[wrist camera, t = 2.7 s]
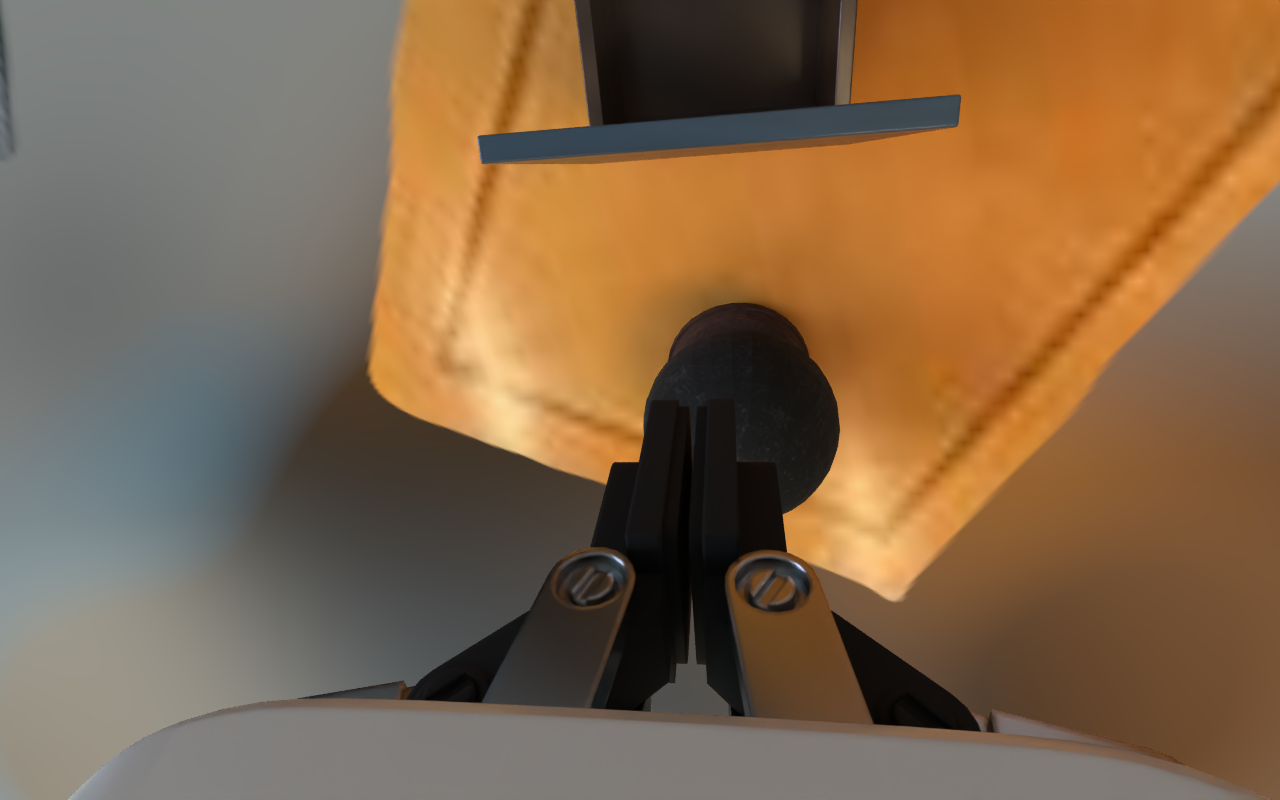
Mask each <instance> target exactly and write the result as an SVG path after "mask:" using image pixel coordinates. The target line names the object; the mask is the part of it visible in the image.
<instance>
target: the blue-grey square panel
mask: <svg viewBox="0 0 1280 800" xmlns="http://www.w3.org/2000/svg"><path fill="white" fill-rule="evenodd" d="M960 102H961V96H960V95H948V96H936V97H924V98H913V99H901V100H889V101H878V102H866V103H854V104H843V105H831V106H819V107H808V108H796V109H784V110H773V111H761V112H749V113H738V114H726V115H714V116H703V117H691V118H679V119H668V120H656V121H644V122H633V123H621V124H609V125H598V126H586V127H574V128H563V129H551V130H539V131H528V132H516V133H504V134H493V135H481V136H478V145H479V152H480V159H481V163H482V164H598V163H612V162H625V161H638V160H651V159H664V158H677V157H690V156H703V155H716V154H729V153H742V152H756V151H769V150H782V149H795V148H808V147H821V146H834V145H847V144H854V143H860V142H866V141H873V140H879V139H885V138H891V137H897V136H904V135H910V134H916V133H922V132H928V131H935V130H941V129H947V128H953V127H957V126H958V122H959V112H960Z"/></svg>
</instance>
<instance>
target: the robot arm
mask: <svg viewBox="0 0 1280 800" xmlns="http://www.w3.org/2000/svg"><path fill="white" fill-rule="evenodd" d="M691 599H692V602H693V615H694V630H695V645H696V659H697V664H705V665H706V671H707V684H708V685H709V686H710V687H712V688H713V689H714V690H715V691H716V692H717V693H718V694H719V695H720V696H721V697H722V698H723V699H724V700H725V701H726V702H727V703H728V704H729V716H718V715H701V714H683V713H663V712H651V705H652V697H651V696H652V695H653V694H654V693H655V692H657V691H658V690H659V689H660V688H662V687H663V686H664V685H666V684H667V683H675V677H676V664H677V663H680V664H687V663H688V651H689V650H688V649H689V634H690V616H691ZM68 800H1271V799H1269V798H1266V797H1264V796H1262V795H1260V794H1257V793H1255V792H1253V791H1251V790H1249V789H1246V788H1244V787H1242V786H1239V785H1236V784H1234V783H1231V782H1228V781H1226V780H1223V779H1220V778H1217V777H1214V776H1212V775H1209V774H1206V773H1204V772H1201V771H1198V770H1196V769H1193V768H1190V767H1187V766H1185V765H1184V764H1182V763H1181V762H1179V761H1177V760H1176V759H1174V758H1173V757H1171V756H1169V755H1166V754H1163V753H1160V752H1158V751H1155V750H1153V749H1150V748H1147V747H1143V746H1139V745H1135V744H1131V743H1126V742H1123V741H1119V740H1115V739H1110V738H1106V737H1102V736H1098V735H1094V734H1090V733H1086V732H1081V731H1078V730H1073V729H1069V728H1065V727H1061V726H1057V725H1053V724H1049V723H1045V722H1040V721H1037V720H1033V719H1028V718H1024V717H1020V716H1016V715H1012V714H1008V713H1003V712H1000V711H996V710H991V712H990V715H989V717H987V716H983V715H979V714H975V713H971V712H970V711H969V710H968V708H967V707H966V706H965V705H964V704H962V703H961V702H960V701H959V700H958V699H957V698H956V697H954V696H953V695H952V694H951V693H949V692H948V691H946V690H945V689H944V688H942V687H941V686H939V685H938V684H936V683H935V682H934V681H932V680H930V679H929V678H928V677H926V676H925V675H924V674H922V673H921V672H919V671H918V670H916V669H915V668H913V667H912V666H911V665H909V664H908V663H906V662H905V661H903V660H902V659H901V658H899V657H898V656H896V655H895V654H893V653H892V652H890V651H889V650H888V649H886V648H884V647H883V646H882V645H880V644H879V643H877V642H876V641H875V640H873V639H872V638H870V637H869V636H867V635H866V634H865V633H863V632H862V631H860V630H859V629H857V628H856V627H855V626H853V625H851V624H850V623H849V622H847V621H846V620H844V619H843V618H842V617H840V616H839V615H837V614H836V613H834V612H833V611H831V610H830V607H829V604H828V602H827V599H826V597H825V594H824V591H823V588H822V586H821V583H820V581H819V578H818V577H817V575H816V573H815V572H814V570H813V568H811V567H810V566H809V565H808V564H807V563H806V562H805V561H804V560H802V559H800V558H798V557H796V556H794V555H792V554H790V553H787V548H786V540H785V532H784V523H783V515H782V507H781V499H780V490H779V482H778V474H777V466H776V462H737V455H736V421H735V398H708V405H707V406H697V417H696V430H695V444H694V458H693V457H692V440H691V424H690V409H689V406H680V405H679V399H657V400H651V404H650V409H649V414H648V419H647V424H646V429H645V434H644V439H643V444H642V449H641V454H640V459H639V462H614V463H613V464H612V467H611V470H610V474H609V478H608V481H607V485H606V489H605V493H604V497H603V501H602V505H601V508H600V512H599V516H598V520H597V524H596V528H595V531H594V535H593V539H592V543H591V547H590V548H586V549H582V550H578V551H576V552H573V553H571V554H569V555H567V556H566V557H564V558H563V559H562V560H560V561H559V562H558V563H556V565H555V566H554V567H553V569H552V570H551V571H550V573H549V574H548V576H547V578H546V580H545V582H544V584H543V586H542V588H541V590H540V592H539V594H538V595H537V597H536V599H535V601H534V603H533V605H532V607H531V609H530V610H529V611H528V612H526V613H524V614H523V615H521V616H519V617H518V618H516V619H515V620H513V621H511V622H510V623H508V624H507V625H505V626H503V627H502V628H500V629H499V630H497V631H495V632H494V633H492V634H491V635H489V636H487V637H486V638H484V639H482V640H481V641H479V642H478V643H476V644H474V645H473V646H471V647H469V648H468V649H466V650H465V651H463V652H461V653H460V654H458V655H457V656H455V657H453V658H452V659H450V660H449V661H447V662H445V663H444V664H442V665H440V666H439V667H437V668H436V669H434V670H433V671H431V672H430V673H429V674H427V675H426V676H425V677H424V678H422V679H421V680H420V681H419V682H418V683H417V684H416V686H413V687H407V686H406V684H405V682H404V681H399V682H393V683H387V684H382V685H376V686H369V687H363V688H357V689H351V690H345V691H339V692H333V693H328V694H322V695H315V696H310V697H304V698H298V699H291V700H280V701H267V702H259V703H253V704H248V705H243V706H238V707H233V708H228V709H222V710H218V711H216V712H212V713H208V714H205V715H202V716H198V717H195V718H191V719H188V720H185V721H182V722H179V723H177V724H174V725H172V726H169V727H167V728H164V729H162V730H160V731H158V732H155V733H153V734H151V735H149V736H147V737H145V738H143V739H141V740H139V741H138V742H136V743H134V744H133V745H131V746H129V747H128V748H126V749H125V750H123V751H122V752H120V753H119V754H118V755H117V756H115V757H114V758H113V759H111V760H110V761H109V762H108V763H106V764H105V765H104V766H103V767H102V768H100V769H99V770H98V771H97V772H96V773H95V774H94V775H93V776H92V777H91V778H89V779H88V780H87V781H86V782H85V783H84V784H83V785H82V786H81V787H80V788H79V789H78V790H77V791H76V792H75V793H74V794H73V795H72V796H71V797H70V798H69V799H68Z"/></svg>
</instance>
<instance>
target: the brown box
mask: <svg viewBox="0 0 1280 800" xmlns="http://www.w3.org/2000/svg"><path fill="white" fill-rule="evenodd" d="M574 2H575V11H576V19H577V27H578V35H579V43H580V52H581V60H582V68H583V76H584V84H585V93H586V101H587V109H588V117H589V125H590V126H598V125H609V124H621V123H633V122H644V121H656V120H668V119H679V118H691V117H703V116H714V115H726V114H738V113H749V112H761V111H773V110H784V109H796V108H808V107H819V106H831V105H843V104H850V101H851V87H852V73H853V59H854V45H855V31H856V17H857V3H858V0H574Z"/></svg>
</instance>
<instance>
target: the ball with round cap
mask: <svg viewBox="0 0 1280 800" xmlns="http://www.w3.org/2000/svg"><path fill="white" fill-rule="evenodd" d="M708 398H735V421H736V455H737V462H776V466H777V474H778V482H779V490H780V499H781V507H782V514H784V513H787V512H789V511H791V510H793V509H794V508H796V507H797V506H799V505H800V504H802V503H803V502H805V501H806V500H807V499H808V498H809V497H810V496H811V495H812V494H813V493H814V492H815V490H816V489H817V488H818V487H819V486H820V484H821V483H822V481H823V480H824V478H825V477H826V475H827V474H828V472H829V471H830V468H831V465H832V463H833V460H834V457H835V454H836V451H837V447H838V441H839V433H840V425H839V416H838V407H837V402H836V399H835V396H834V394H833V391H832V388H831V386H830V384H829V382H828V380H827V378H826V377H825V375H824V374H823V372H822V371H821V369H820V368H819V367H818V365H817V364H816V363H815V362H814V361H813V360H812V359H811V358H810V357H809V353H808V350H807V347H806V345H805V342H804V339H803V337H802V336H801V334H800V333H799V332H798V330H797V329H796V327H795V326H794V325H793V324H792V323H791V322H790V321H788V320H787V319H786V318H785V317H783V316H782V315H780V314H779V313H777V312H775V311H773V310H771V309H768V308H765V307H763V306H760V305H754V304H748V303H731V304H726V305H721V306H716V307H714V308H711V309H709V310H706V311H704V312H702V313H701V314H699V315H697V316H696V317H694V318H693V319H691V320H690V321H689V322H688V323H687V324H686V325H685V326H684V327H683V328H682V329H681V331H680V332H679V334H678V335H677V337H676V338H675V340H674V342H673V345H672V347H671V349H670V354H669V359H668V362H667V363H666V364H665V366H664V367H663V369H662V370H661V371H660V373H659V374H658V376H657V377H656V379H655V382H654V384H653V386H652V389H651V391H650V393H649V396H648V398H647V401H646V406H645V412H644V434H645V429H646V424H647V419H648V414H649V409H650V404H651V400H657V399H679V405H680V406H689V409H690V424H691V440H692V457H693V458H694V444H695V430H696V417H697V406H707V405H708Z"/></svg>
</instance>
